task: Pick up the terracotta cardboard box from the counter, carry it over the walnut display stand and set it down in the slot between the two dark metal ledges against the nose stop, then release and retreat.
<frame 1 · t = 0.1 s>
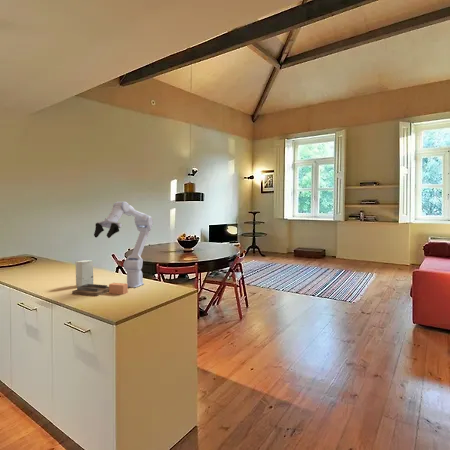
hand: (101, 236, 169), 32 cm above the counter, tool tilted 50°, fingers open, 7 cm apart
display stand: (93, 291, 184), on the counter
skincare box: (84, 285, 199), on the counter
terracotta cardboard box: (118, 293, 181), on the counter
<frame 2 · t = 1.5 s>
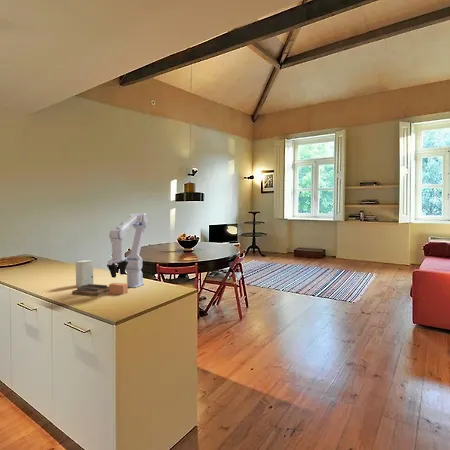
hand: (118, 275, 181), 9 cm above the counter, tool pointing down, fingers open, 7 cm apart
nothing on the counter moved.
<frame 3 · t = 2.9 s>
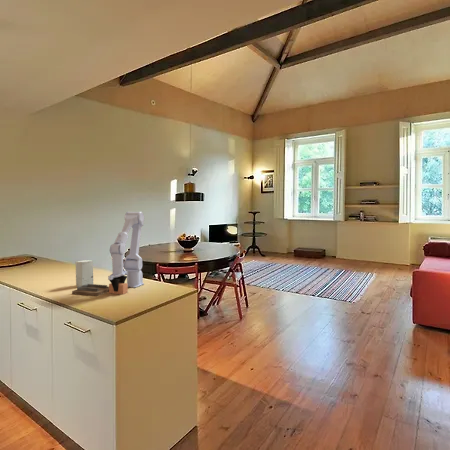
hand: (118, 290, 181), 1 cm above the counter, tool pointing down, fingers closed on terracotta cardboard box, 4 cm apart
terracotta cardboard box: (118, 292, 181), on the counter, touching gripper
everything else where it was.
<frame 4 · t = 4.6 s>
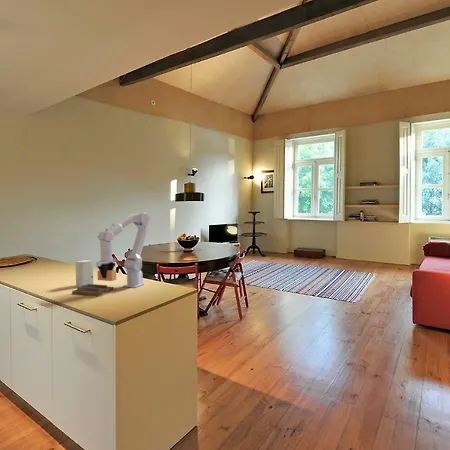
hand: (106, 277, 182), 8 cm above the counter, tool pointing down, fingers closed on terracotta cardboard box, 4 cm apart
terracotta cardboard box: (107, 279, 182), point 7 cm above the counter, touching gripper
everything else where it was.
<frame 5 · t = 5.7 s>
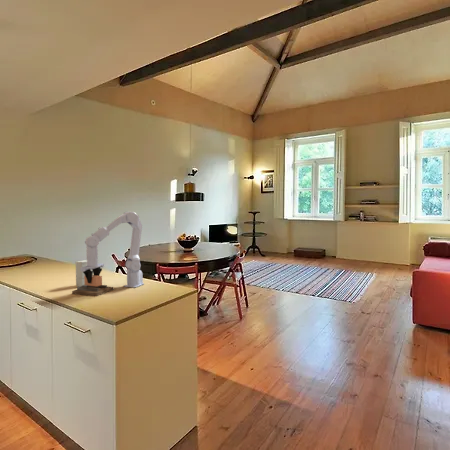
hand: (92, 282, 184), 5 cm above the counter, tool pointing down, fingers closed on terracotta cardboard box, 4 cm apart
terracotta cardboard box: (93, 284, 184), point 4 cm above the counter, touching gripper
everything else where it was.
when the fingers open (4 cm above the counter, at t = 6.4 s): terracotta cardboard box stays where it is, resting on display stand.
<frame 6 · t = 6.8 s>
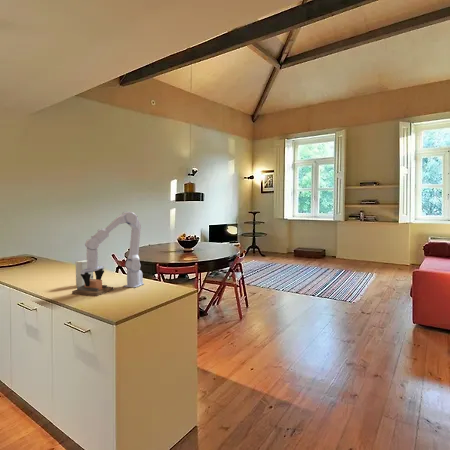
hand: (93, 284, 184), 4 cm above the counter, tool pointing down, fingers open, 7 cm apart
terracotta cardboard box: (93, 289, 184), point 1 cm above the counter, touching display stand
everything else where it was.
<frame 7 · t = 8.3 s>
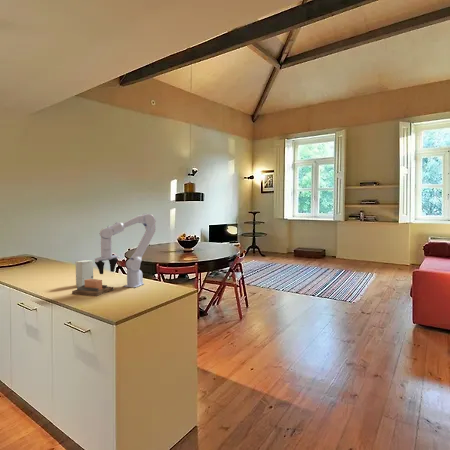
hand: (107, 272, 189), 9 cm above the counter, tool pointing down, fingers open, 7 cm apart
nothing on the counter moved.
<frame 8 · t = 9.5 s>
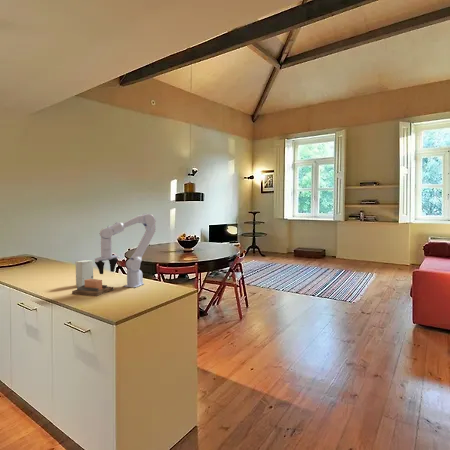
hand: (107, 272, 189), 9 cm above the counter, tool pointing down, fingers open, 7 cm apart
nothing on the counter moved.
at the end: terracotta cardboard box 0.2 cm off-centre on the display stand, point 1.5 cm above the display stand's base; terracotta cardboard box tilted 0°; the gripper is holding nothing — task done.
